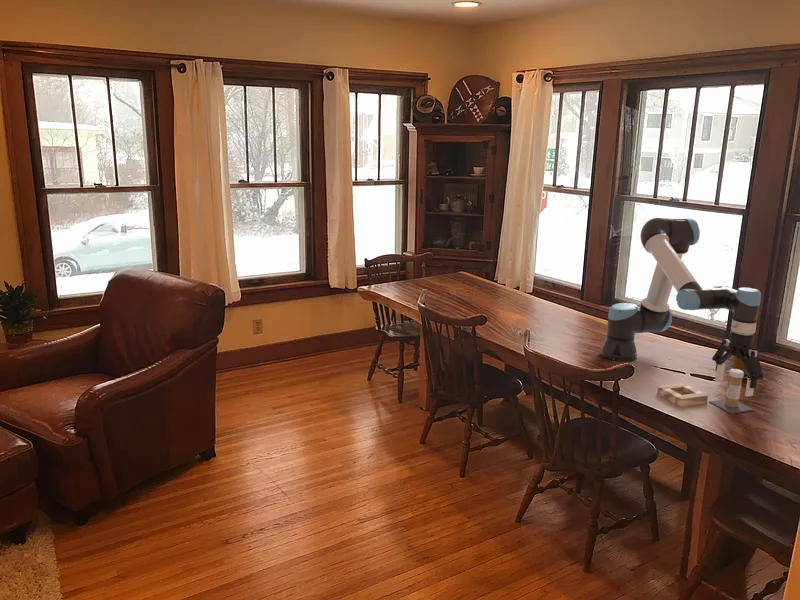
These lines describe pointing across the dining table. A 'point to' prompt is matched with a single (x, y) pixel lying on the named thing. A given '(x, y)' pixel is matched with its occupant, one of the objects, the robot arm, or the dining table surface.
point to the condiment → (739, 366)
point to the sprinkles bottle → (734, 388)
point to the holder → (689, 397)
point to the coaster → (731, 410)
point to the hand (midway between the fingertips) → (733, 388)
